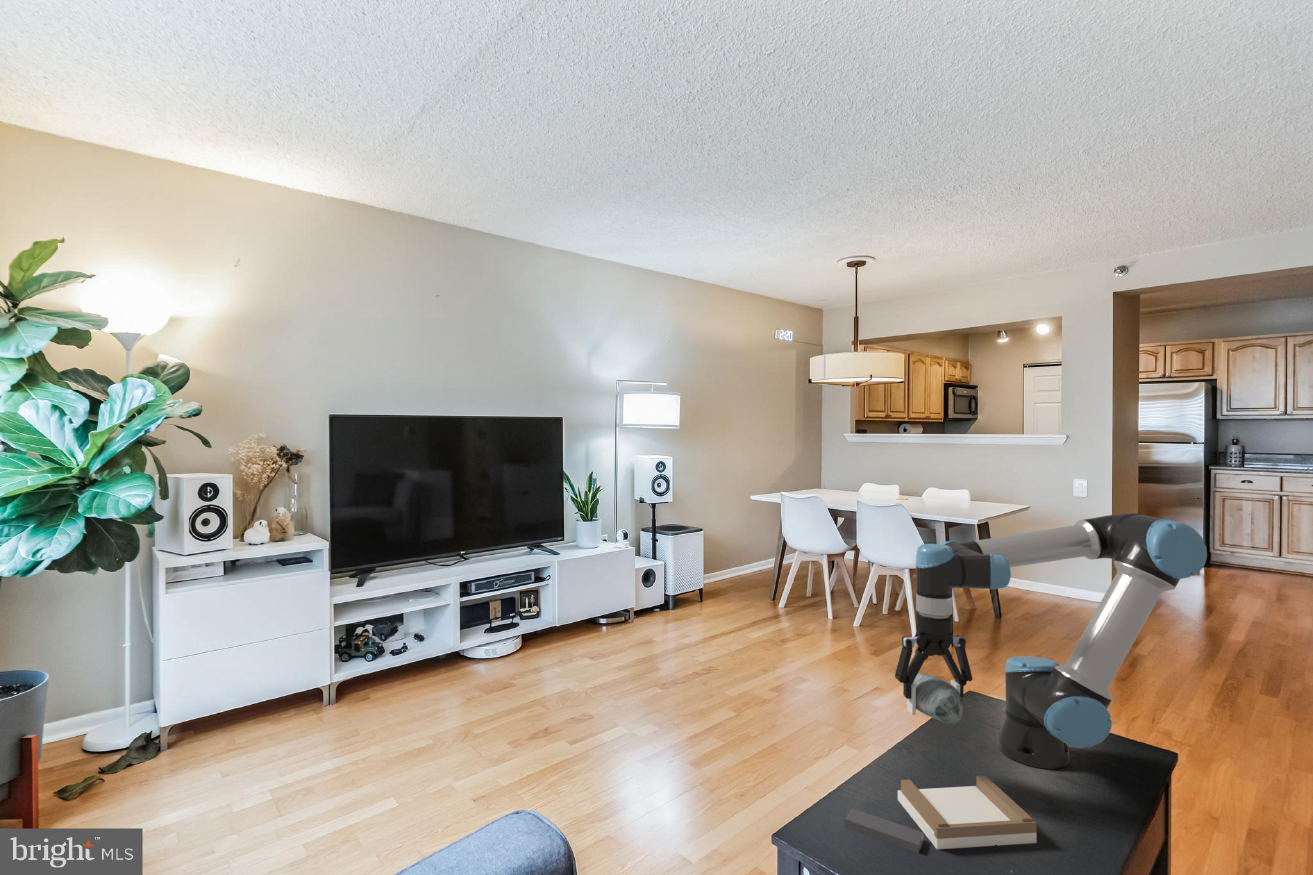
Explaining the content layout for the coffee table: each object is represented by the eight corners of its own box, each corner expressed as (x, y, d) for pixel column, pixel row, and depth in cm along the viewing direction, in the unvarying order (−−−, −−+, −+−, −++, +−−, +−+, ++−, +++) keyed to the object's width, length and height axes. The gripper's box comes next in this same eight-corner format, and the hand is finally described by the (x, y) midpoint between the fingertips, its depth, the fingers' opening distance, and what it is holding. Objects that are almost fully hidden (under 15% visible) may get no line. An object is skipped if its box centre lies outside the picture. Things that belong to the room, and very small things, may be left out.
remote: (851, 817, 129) (851, 808, 129) (923, 842, 121) (923, 832, 121) (844, 828, 126) (844, 819, 126) (918, 855, 118) (918, 844, 118)
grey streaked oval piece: (981, 711, 136) (956, 669, 137) (949, 736, 133) (924, 694, 134) (942, 700, 149) (919, 662, 150) (913, 723, 146) (890, 685, 147)
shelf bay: (985, 794, 136) (986, 773, 136) (1036, 842, 120) (1036, 819, 120) (897, 799, 135) (897, 778, 135) (937, 849, 119) (937, 825, 119)
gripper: (972, 607, 146) (971, 703, 146) (879, 609, 144) (878, 705, 145) (991, 617, 138) (990, 717, 138) (893, 619, 137) (892, 720, 137)
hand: (933, 711), depth 142 cm, fingers closed on grey streaked oval piece, 9 cm apart
